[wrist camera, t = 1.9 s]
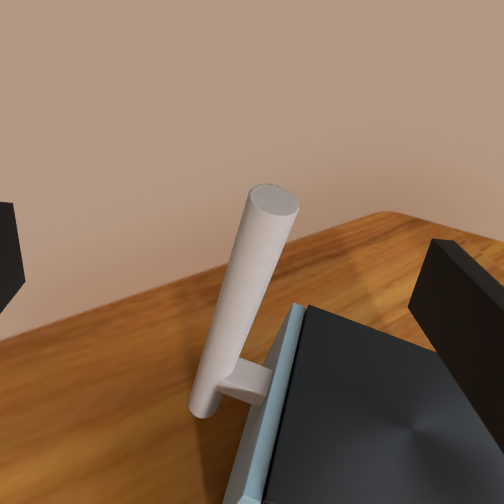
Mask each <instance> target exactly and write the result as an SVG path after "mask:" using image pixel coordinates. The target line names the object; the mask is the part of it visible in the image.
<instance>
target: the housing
mask: <svg viewBox="0 0 504 504" xmlns="http://www.w3.org/2000/svg"><path fill="white" fill-rule="evenodd" d="M260 504H504V454H503V453H502V451H501V450H500V448H499V447H498V445H497V444H496V442H495V441H494V439H493V437H492V436H491V434H490V433H489V431H488V430H487V428H486V427H485V425H484V424H483V422H482V421H481V419H480V418H479V416H478V414H477V413H476V411H475V410H474V408H473V407H472V405H471V404H470V402H469V401H468V399H467V398H466V396H465V394H464V393H463V391H462V390H461V388H460V387H459V385H458V384H457V382H456V381H455V379H454V378H453V376H452V375H451V373H450V371H449V370H448V368H447V367H446V365H445V364H444V362H443V361H442V359H441V358H440V356H439V355H438V353H436V352H434V351H431V350H428V349H426V348H423V347H420V346H418V345H415V344H412V343H410V342H407V341H404V340H402V339H399V338H397V337H394V336H391V335H389V334H386V333H383V332H381V331H378V330H375V329H373V328H370V327H367V326H365V325H362V324H359V323H357V322H354V321H351V320H349V319H346V318H343V317H341V316H338V315H335V314H333V313H330V312H328V311H325V310H322V309H320V308H317V307H314V306H312V305H308V307H307V309H306V311H305V313H304V317H303V321H302V325H301V330H300V334H299V339H298V346H297V351H296V355H295V360H294V364H293V368H292V373H291V377H290V382H289V386H288V390H287V395H286V399H285V404H284V408H283V412H282V417H281V421H280V426H279V430H278V434H277V439H276V443H275V447H274V452H273V456H272V461H271V465H270V469H269V474H268V478H267V483H266V487H265V490H264V492H263V495H262V500H261V503H260Z"/></svg>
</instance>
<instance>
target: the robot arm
mask: <svg viewBox="0 0 504 504" xmlns="http://www.w3.org/2000/svg"><path fill="white" fill-rule="evenodd" d="M24 283H25V276H24V269H23V263H22V257H21V250H20V244H19V238H18V233H17V226H16V219H15V213H14V208H13V203H7V202H0V313H1V312H2V311H3V309H4V308H5V307H6V306H7V304H8V303H9V302H10V301H11V299H12V298H13V297H14V296H15V294H16V293H17V292H18V290H19V289H20V288H21V287H22V285H23V284H24ZM408 309H409V310H410V312H411V313H412V315H413V316H414V318H415V319H416V321H417V322H418V324H419V325H420V327H421V328H422V330H423V332H424V333H425V335H426V336H427V338H428V339H429V341H430V342H431V344H432V345H433V347H434V348H435V350H436V351H437V353H438V355H439V356H440V358H441V359H442V361H443V362H444V364H445V365H446V367H447V368H448V370H449V371H450V373H451V375H452V376H453V378H454V379H455V381H456V382H457V384H458V385H459V387H460V388H461V390H462V391H463V393H464V394H465V396H466V398H467V399H468V401H469V402H470V404H471V405H472V407H473V408H474V410H475V411H476V413H477V414H478V416H479V418H480V419H481V421H482V422H483V424H484V425H485V427H486V428H487V430H488V431H489V433H490V434H491V436H492V437H493V439H494V441H495V442H496V444H497V445H498V447H499V448H500V450H501V451H502V453H503V454H504V287H503V286H502V285H501V284H500V283H499V282H498V281H496V280H495V279H494V278H493V277H492V276H491V275H490V274H489V273H488V272H487V271H486V270H485V269H484V268H483V267H482V266H480V265H479V264H478V263H477V262H476V261H475V260H474V259H473V258H472V257H471V256H470V255H469V254H468V253H467V252H465V251H464V250H463V249H462V248H461V247H460V246H459V245H458V244H457V243H456V242H455V241H452V240H441V239H432V240H431V243H430V246H429V248H428V251H427V254H426V257H425V260H424V262H423V265H422V268H421V271H420V274H419V276H418V279H417V282H416V285H415V287H414V290H413V293H412V296H411V299H410V301H409V304H408Z"/></svg>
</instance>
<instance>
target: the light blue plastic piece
mask: <svg viewBox="0 0 504 504" xmlns="http://www.w3.org/2000/svg"><path fill="white" fill-rule="evenodd" d="M298 211H299V203H298V200H297V198H296V197H295V196H294V195H293V194H292V193H291V192H289V191H288V190H286V189H284V188H282V187H280V186H276V185H272V184H260V185H257V186H255V187H253V188H252V189H251V190H250V192H249V195H248V198H247V201H246V205H245V208H244V212H243V215H242V219H241V222H240V225H239V229H238V232H237V236H236V239H235V242H234V246H233V249H232V253H231V256H230V260H229V263H228V266H227V270H226V273H225V277H224V280H223V284H222V287H221V290H220V294H219V297H218V301H217V304H216V308H215V311H214V314H213V318H212V321H211V325H210V328H209V332H208V335H207V338H206V342H205V345H204V349H203V352H202V356H201V359H200V362H199V366H198V369H197V373H196V376H195V380H194V383H193V386H192V390H191V393H190V397H189V400H188V406H189V409H190V411H191V413H192V414H193V415H195V416H196V417H198V418H209V417H211V416H213V415H214V414H215V413H216V411H217V409H218V407H219V404H220V402H221V399H222V397H223V394H226V395H228V396H231V397H233V398H236V399H238V400H241V401H244V402H246V403H249V404H251V406H250V410H249V413H248V417H247V420H246V424H245V427H244V430H243V434H242V437H241V441H240V444H239V447H238V451H237V454H236V458H235V461H234V464H233V468H232V471H231V475H230V478H229V482H228V485H227V488H226V492H225V495H224V499H223V502H222V504H260V503H261V500H262V495H263V492H264V490H265V487H266V483H267V478H268V474H269V469H270V465H271V461H272V456H273V452H274V447H275V443H276V439H277V434H278V430H279V426H280V421H281V417H282V412H283V408H284V404H285V399H286V395H287V390H288V386H289V382H290V377H291V373H292V368H293V364H294V360H295V355H296V351H297V346H298V339H299V334H300V330H301V325H302V321H303V317H304V312H305V307H304V306H301V305H299V304H296V303H293V304H292V306H291V308H290V310H289V312H288V314H287V316H286V318H285V320H284V322H283V324H282V326H281V328H280V330H279V332H278V334H277V336H276V338H275V340H274V342H273V344H272V346H271V348H270V350H269V352H268V355H267V357H266V359H265V361H264V363H263V366H261V365H259V364H256V363H253V362H251V361H248V360H245V359H243V358H240V357H239V355H240V353H241V350H242V348H243V345H244V343H245V340H246V338H247V335H248V333H249V331H250V328H251V326H252V323H253V321H254V318H255V316H256V313H257V311H258V309H259V306H260V304H261V301H262V299H263V296H264V294H265V291H266V289H267V286H268V284H269V282H270V279H271V277H272V274H273V272H274V269H275V267H276V264H277V262H278V260H279V257H280V255H281V252H282V250H283V247H284V245H285V242H286V240H287V237H288V235H289V233H290V230H291V228H292V225H293V223H294V220H295V218H296V215H297V213H298Z"/></svg>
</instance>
